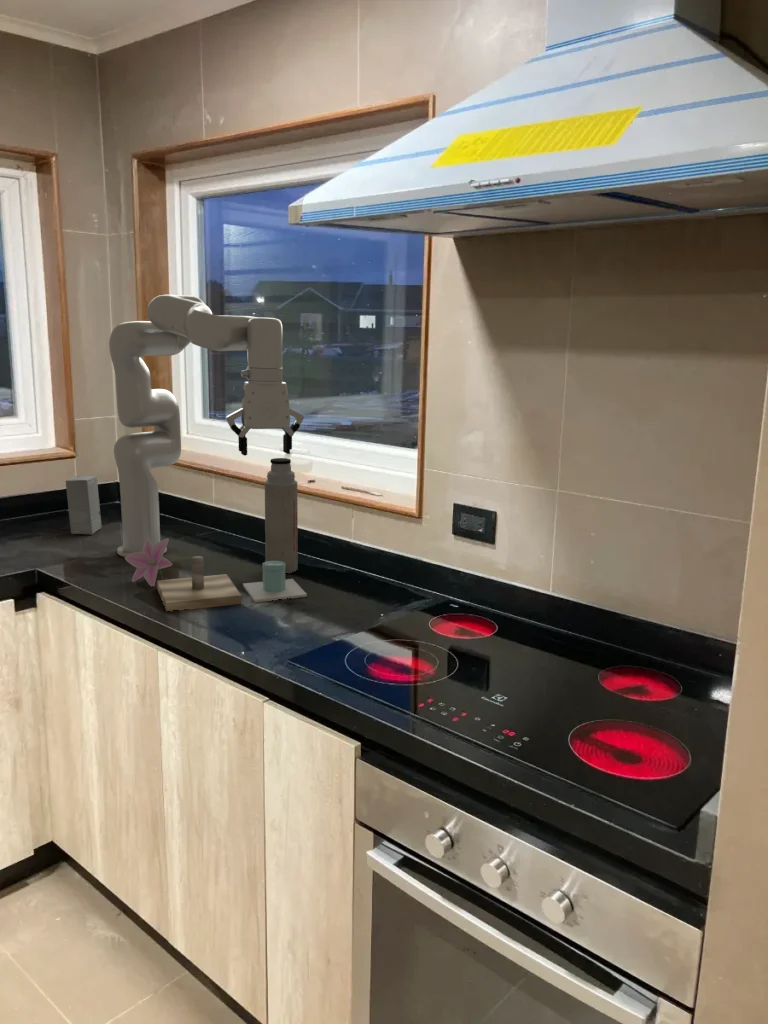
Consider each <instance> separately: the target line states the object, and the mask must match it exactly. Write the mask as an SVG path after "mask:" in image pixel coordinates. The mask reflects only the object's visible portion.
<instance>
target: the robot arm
mask: <svg viewBox="0 0 768 1024" xmlns="http://www.w3.org/2000/svg"><path fill="white" fill-rule="evenodd" d="M146 313H147V318H148V320H149V321H147V320H135V321H134V320H133V321H126V322H125V321H124V322H122V323H118V325H116V326H115V327H114V328H113V329H112V331H111V333H110V336H109V342H108V344H109V345H108V348H109V355H110V359H111V362H112V365H113V370H114V375H115V376H114V377H115V390H116V391H115V393H116V407H117V416H118V419H119V422H120V423H121V425H123V426H124V427H126V428H130V429H135V428H136V429H137V428H149V427H153V431H141V432H133V433H129V434H125V435H122V436H120V438H119V437H118V439H117V440H116V441H115V444H114V446H113V454H114V459H115V464H116V467H117V474H118V480H119V493H120V494H119V495H120V506H121V507H120V509H121V510H120V511H121V513H120V514H121V529H122V530H121V531H122V545H120V546H118V547H117V549H116V551H117V555H119V556H120V557H124V558H125V557H126V556H127V555H129V554H132V553H135V552H143V546H144V542H145V540H146V539H148V540H149V541H150V542H151V544H152V545H153V546H154V545H155V544H157V543H158V542H160V541H161V528H160V527H161V524H160V501H159V500H160V499H159V498H160V497H159V485H158V483H157V480H156V479H155V477H154V475H153V474H152V472H151V470H152V469H156V468H157V469H158V468H163V467H169V466H173V465H174V464H175V463H177V462H178V461H179V459H180V457H181V453H182V435H181V433H182V431H181V416H180V415H181V414H180V406H179V402H178V400H177V398H176V396H175V395H174V394H173V393H172V392H171V391H169V390H168V389H164V388H153V389H152V383H151V381H152V380H151V372H150V370H149V367H148V366H147V364H146V363H145V361H144V359H143V358H142V357H170V356H175V355H178V354H180V353H181V352H183V350H185V348H186V347H187V346H188V345H190V343H191V344H193V345H194V346H197V347H200V348H204V349H208V350H212V351H217V352H230V351H231V352H232V351H233V352H235V351H236V352H237V351H239V352H241V351H242V352H243V351H246V352H247V354H246V355H247V359H246V360H247V366H246V369H244V370H240V376H241V377H242V378H246V380H247V381H244V385H243V390H242V398H241V399H242V400H241V408H239V409H238V410H235V411H233V412H232V413H230V414H228V415H225V421H226V422H227V424H228V426H229V427H230V430H232V432H234V433H235V434H236V435H237V436H238V439H237V440H238V451H239V452H240V454H241V455H242V456H245V457H246V456H247V455H248V437H246V435H247V433H248V432H249V431H250V430H273V429H275V430H277V429H282V430H283V431H284V434H283V435H282V438H283V439H282V444H283V445H282V451H283V452H284V454H287V455H290V454H291V450H292V449H293V436H295V435H294V434H295V433H296V432H297V431H298V429H300V427H301V425H302V423H303V420H304V418H305V416H304V415H303V414H301V413H299V412H297V411H295V410H294V409H291V408H290V397H289V390H288V386H287V385H288V384H287V382H285V381H283V380H284V379H283V324H282V321H281V319H278V318H275V317H257V316H251V315H224V314H223V315H221V314H220V315H218V314H213V312H212V310H211V309H210V307H209V306H208V305H207V304H205V302H204V301H203V300H202V299H201V298H199V297H197V296H195V295H186V294H185V295H184V294H162V295H160V294H159V295H158V296H156V297H154V298H153V299H151V301H150V302H149V303H148V306H147V308H146ZM240 417H241V424H242V425H241V426H240V427H238V426H237V425H236V423H235V420H237V419H238V418H240ZM291 417H293V418H294V419H295V420H294V422H293V423H292V424H291ZM290 424H291V425H290ZM167 546H168V545H167ZM167 546H166V549H165V551H164V554H165V553H166V552H167V550H168V549H167V548H168V547H167Z"/></svg>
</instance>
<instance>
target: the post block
mask: <svg viewBox="0 0 768 1024" xmlns="http://www.w3.org/2000/svg"><path fill="white" fill-rule="evenodd" d="M190 561H191V563H190V565H191V567H190V568H191V577H183V578H182V577H180V578H170V579H161V580H156V587H157V588H156V589H157V592H158V594H159V598H160V599H161V602H162V601H163V602H162V604H163V606H165V607H164V609H165V611H166V612H167V611H170V612H174V611H173V610H179V611H185V610H184V609H189V610H195V609H196V610H198V609H205V608H215V607H224V606H225V607H226V606H233V605H242V594H241V592H239V590H238V588H237V587H236V586H235V584H234V582H233V581H232V580H231V578H230V577H229V576H228V574H225V573H224V574H215V575H214V574H213V575H204V574H205V573H204V557H203V556H201V555H196V556H195V555H194V556H191V559H190ZM197 608H198V609H197Z"/></svg>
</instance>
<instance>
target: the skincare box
mask: <svg viewBox="0 0 768 1024" xmlns="http://www.w3.org/2000/svg"><path fill="white" fill-rule="evenodd" d="M65 487H66V489H65V490H66V497H67V507H68V518H69V525H70V528H69V529H70V534H71V535H94V534H95V533H96V532H98V531H99V530H100V529H102V518H101V516H102V515H101V509H100V507H101V506H100V496H99V486H98V476H97V475H87V476H86V475H85V476H84V475H83V476H81V475H80V476H78V475H77V476H73V477H70V478H68V479H67V480H65Z"/></svg>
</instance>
